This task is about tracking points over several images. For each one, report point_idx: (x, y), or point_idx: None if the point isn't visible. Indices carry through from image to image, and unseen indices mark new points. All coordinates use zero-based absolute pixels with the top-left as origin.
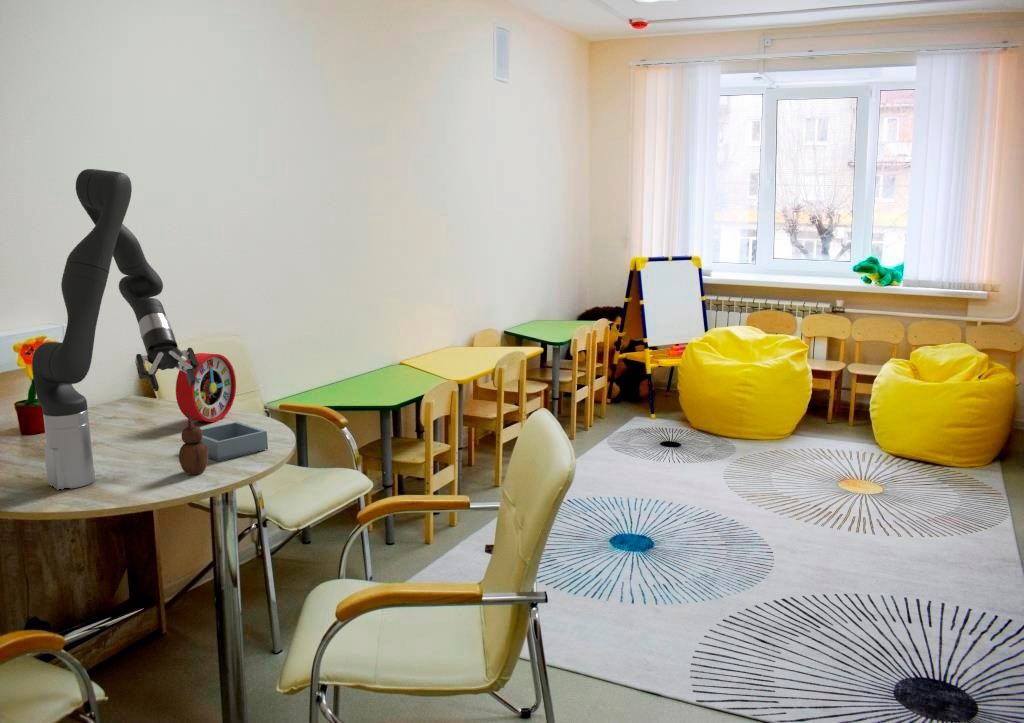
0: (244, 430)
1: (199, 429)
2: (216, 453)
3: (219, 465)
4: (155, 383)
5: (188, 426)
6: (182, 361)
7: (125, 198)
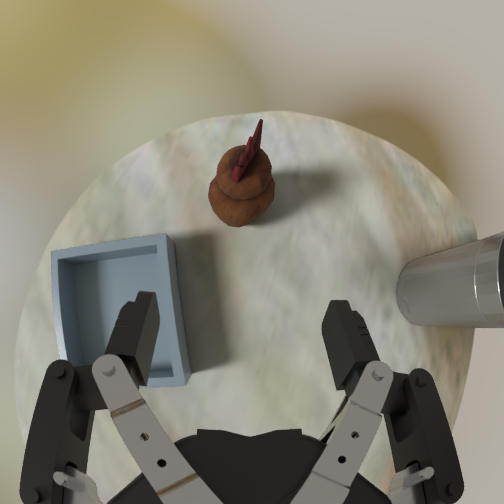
0: (69, 337)
1: (228, 150)
2: (171, 247)
3: (183, 219)
4: (349, 312)
5: (260, 142)
6: (136, 413)
7: None
